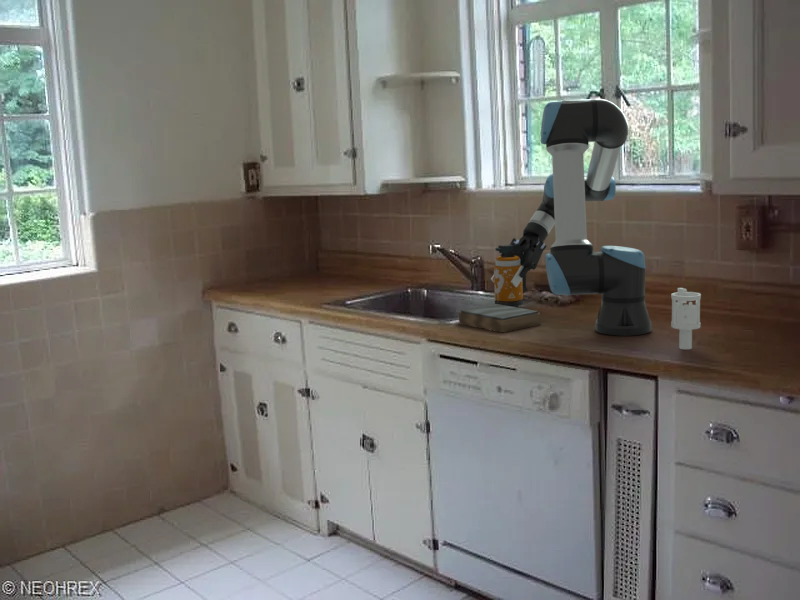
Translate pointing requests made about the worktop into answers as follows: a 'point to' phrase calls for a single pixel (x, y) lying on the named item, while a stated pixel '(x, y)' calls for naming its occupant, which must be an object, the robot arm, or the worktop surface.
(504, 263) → the canister
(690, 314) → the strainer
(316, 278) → the worktop surface
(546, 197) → the robot arm
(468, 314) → the stand
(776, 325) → the worktop surface
